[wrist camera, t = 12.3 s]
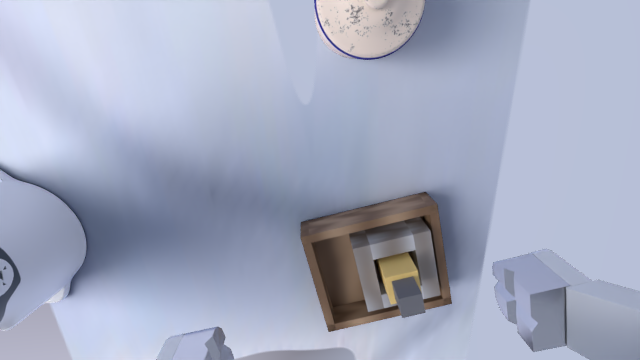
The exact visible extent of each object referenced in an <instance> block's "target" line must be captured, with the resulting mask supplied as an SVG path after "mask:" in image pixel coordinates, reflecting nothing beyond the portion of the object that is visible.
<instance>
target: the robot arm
mask: <svg viewBox="0 0 640 360" xmlns="http://www.w3.org/2000/svg"><path fill="white" fill-rule="evenodd" d="M85 255H86V237H85V233H84V230H83V228H82V225H81V223H80V222H79V220H78V218H77V217H76V215H75V214H74V213H73V211H72V210H71V209H70V208H69V207H68V206H67V205H66V204H65V203H64V202H63V201H62V200H60V199H59V198H58V197H56V196H55V195H53V194H52V193H50V192H49V191H47V190H45V189H43V188H40V187H38V186H35V185H33V184H29V183H26V182H22V181H19V180H16V179H14V178H12V177H11V176H9V175H8V174H6V173H5V172H3V171H2V170H0V331H1V330H4V331H7V330H9V329H11V328H13V327H14V326H16V325H17V324H18V323H20V322H21V321H22V320H24V319H25V318H26V317H27V316H28V315H30V314H31V313H32V312H34V311H35V310H36V309H38V308H39V307H40V306H41V305H43V304H44V303H56V302H60V301H61V300H63V299H64V298H65V297H67V295H68V293H69V290H70V284H71V279H72V278H73V276H74V275H75V274H76V272H77V271H78V270H79V269H80V267H81V265H82V264H83V261H84V259H85ZM492 269H493V275H494V276H495V277H496V279H497V280H498V282H497V284H496V285H495V287H494V289H495V297H496V300H497V302H498V305H499V308H500V310H501V311H502V313H503V315H504V316H505V317H506V319H507V320H508V321H510V322H512V323H514V324H517V329H518V334H519V335H520V336H521V337H522V339H523V340H524V341H525V342H526V344H527V345H528V346H529V347H530V349H531V350H532V351H533V352H535V351H541V350H546V349H552V348H557V347H562V346H567V347H568V348H569V349H571V350H573V351H575V352H577V353H579V354H580V355H582V356H584V357H586V358H588V359H589V360H640V291H637V290H633V289H630V288H626V287H622V286H619V285H615V284H612V283H608V282H605V281H601V280H595V281H592V280H591V279H589V278H588V277H586V276H585V275H584V274H582V273H581V272H579V271H578V270H577V269H576V268H574V267H573V266H571V265H570V264H569V263H567V262H566V261H565V260H564V259H562V258H561V257H559V256H558V255H557V254H555V253H554V252H553V251H551V250H549V249H543V250H539V251H535V252H531V253H529V254H526V255H522V256H518V257H514V258H509V259H506V260H501V261H497V262H493V266H492ZM224 340H225V335H224V333H223V331H222V328H220V327H214V328H209V329H204V330H200V331H195V332H190V333H186V334H181V335H177V336H173V337H170V338H168V339H167V340H166V341H165V343H164V345H163V347H162V349H161V351H160V353H159V355H158V357H157V359H156V360H234V357H233V354H232V351H231V349H230V348H229V347H227V346H226V345H224Z"/></svg>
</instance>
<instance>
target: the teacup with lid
mask: <svg viewBox="0 0 640 360" xmlns="http://www.w3.org/2000/svg"><path fill="white" fill-rule="evenodd" d="M314 3H315V22H316V27H317V30H318V33H319V35H320V37H321V39H322V40H323V42H324V43H325V44H326V45H327V47H328V48H330V49H331V50H332V51H333V52H335V53H336V54H338V55H340V56H343V57H346V58H355V59H356V58H357V59H363V60H372V59H379V58H382V57H385V56H388V55H390V54H392V53H394V52H395V51H397V50H399V49H400V48H401V47H402V46H403V45H405V44H406V43H407V42H408V40H409V39H410V38H411V37H412V35H413V34H414V33H415V31H416V29H417V27H418V25H419V23H420V21H421V18H422V15H423V12H424V7H425V0H314Z"/></svg>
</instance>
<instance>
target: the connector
mask: <svg viewBox="0 0 640 360" xmlns="http://www.w3.org/2000/svg"><path fill="white" fill-rule="evenodd" d="M376 262H377V266H378V270H379V273H380V276H381V278H382V281H383V284H384V287H385V289H386V292H387V295H388V298H389V301H390V303H391V305H392V304H396V303H397V305H398V307H399V310H400V313H401V315H402V318H404V317H409V316H413V315H417V314H422V313H425V307H424V302H423V296H422V291H421V286H420V280H419V275H418V270H417V268H416V266H415V265H414V263H413V261H412V259H411V257H410V255H409V254H408V252H404V253H400V254H396V255H392V256H388V257H383V258H379V259H376Z"/></svg>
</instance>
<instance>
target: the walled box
mask: <svg viewBox="0 0 640 360" xmlns="http://www.w3.org/2000/svg"><path fill="white" fill-rule="evenodd" d="M301 241H302V244H303V247H304V251H305V254H306V257H307V261H308V264H309V267H310V271H311V274H312V277H313V281H314V284H315V288H316V291H317V294H318V298H319V301H320V304H321V308H322V311H323V314H324V318H325V321H326V324H327V328H328V331H329V332H331V331H335V330H339V329H344V328H348V327H352V326H357V325H361V324H365V323H370V322H374V321H378V320H383V319H387V318H391V317H396V316H400V315H401V313H400V310H399V307H398V305H397V303H396V304H392V305H391V303H390V301H389V298H388V295H387V292H386V289H385V287H384V284H383V281H382V278H381V276H380V273H379V270H378V266H377V262H376V259H379V258H383V257H388V256H392V255H396V254H400V253H404V252H408V254H409V255H410V257H411V259H412V261H413V263H414V265H415V266H416V268H417V270H418V275H419V280H420V286H421V291H422V296H423V302H424V307H425V310H426V309H431V308H435V307H439V306H444V305H448V304H452V301H451V294H450V287H449V281H448V274H447V267H446V260H445V253H444V247H443V240H442V233H441V226H440V219H439V213H438V206H437V203H436V202H435V201H434V200H433V199H432V198H431V197H430V196H429V195H428V194H427V193H426V192H423V193H419V194H415V195H411V196H407V197H402V198H398V199H394V200H390V201H386V202H382V203H378V204H374V205H370V206H366V207H361V208H357V209H353V210H349V211H345V212H341V213H337V214H333V215H329V216H324V217H320V218H316V219H312V220H308V221H304V222H301Z"/></svg>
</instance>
